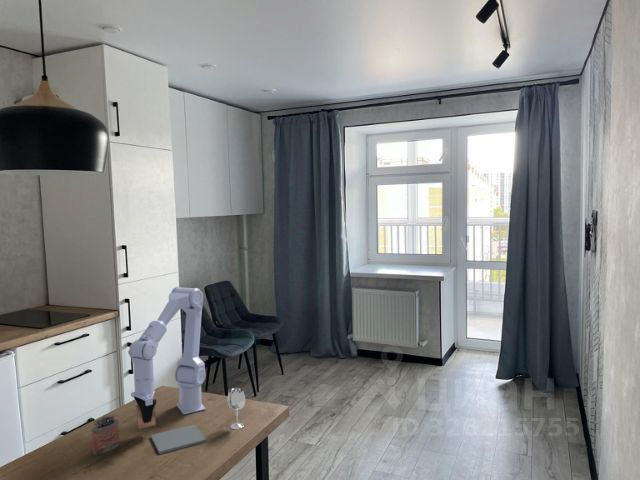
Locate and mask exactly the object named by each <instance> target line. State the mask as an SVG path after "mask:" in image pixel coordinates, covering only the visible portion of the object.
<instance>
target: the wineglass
mask: <svg viewBox="0 0 640 480" xmlns="http://www.w3.org/2000/svg"><path fill="white" fill-rule="evenodd" d="M226 403H227V406H228V408H229V409H230V410H232V411H234V414H235V423H232V424H231V425H230V426H229V427H230V429H231V430H239V429H242V428H244V426H245V425H244V423H241V422H239V421H238V418H239V417H238V416H239V410H240V411H241V410H242V409H243V408H244V407H245V405H246V395H245V392H244V389H243V388H240V387H235V388H231V389H229V390H228V395H227V402H226Z"/></svg>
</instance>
